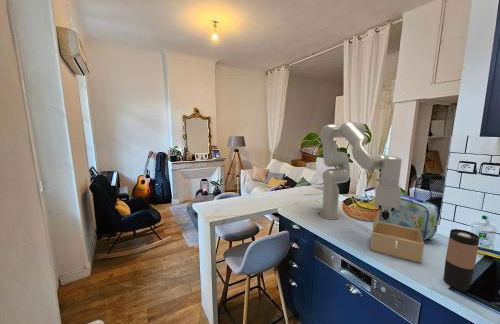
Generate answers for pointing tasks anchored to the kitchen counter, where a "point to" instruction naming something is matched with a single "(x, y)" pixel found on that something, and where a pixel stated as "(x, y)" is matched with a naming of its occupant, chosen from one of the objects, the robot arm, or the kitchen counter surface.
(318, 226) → the kitchen counter surface
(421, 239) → the right flap
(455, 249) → the travel mug
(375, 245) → the carton
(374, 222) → the left flap
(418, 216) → the lunch box
